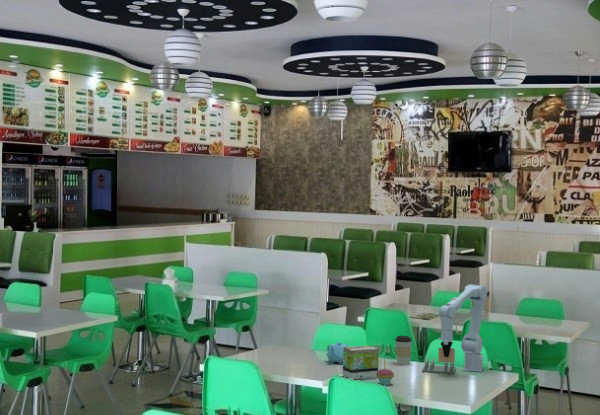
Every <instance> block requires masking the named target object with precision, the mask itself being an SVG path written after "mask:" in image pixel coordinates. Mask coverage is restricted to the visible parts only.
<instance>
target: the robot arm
mask: <svg viewBox="0 0 600 415" xmlns="http://www.w3.org/2000/svg"><path fill="white" fill-rule="evenodd" d="M487 296H488V290H487V287H486V286H485V285H477V284H471V283H469V284H467V285H466V286H464V290H463V292H461V293H460V295H459V296H457V297H452V298H451V300H450V301H448V302H447V303H446V304H444V305H442V306H440V308H439V310H438V315H439V317H440V318H439V319H440V337H438V340H439V341H441V342H440V345H441V348H443V353H444V357H449V353H450V348H452V346H453V343H454V342H453V341H454V338H453V335H454V334H453V331H454V330H453V328H454V327H453V325H454V323H453V322H454V317H455V315H456V313H457V311H459V309H460V308H462V306H463V303H464V302H466V301H467V300H468V299H469V300H470V301H471V302H472V303H473V307H472V312H471V318H470V323H469V328H468V332H467V333H466V334H465V335H464V336H463V338H462V341H461V342H460V345H461V347H460V348H461V349H462V351H463V353H464V366H463V368H462V369H463V371H465V372H466V371H467V372H479V373H480V372H481V373H482V372H483V369H484V364H483V360H484V359H483V358H484V356H483V355H484V353H481V352H482V350H483V339H482V337H481V336H480V330H481V325H482V319H483V314H484V308H485V303H486V301H487Z"/></svg>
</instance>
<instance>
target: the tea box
mask: <svg viewBox="0 0 600 415" xmlns="http://www.w3.org/2000/svg"><path fill="white" fill-rule="evenodd" d="M379 355H380V352H379V348H377V347H374V346H371V345H358V346H348V347H344V349H343V362H342V363H343V364H342V377H343V376H344V378H346V377H348V378H352V379H356V380H365V379H366V380H367V379H378V377H377V376H376V374H377V372H378V371H379V357H380V356H379ZM348 378H347V379H348Z"/></svg>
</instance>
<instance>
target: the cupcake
mask: <svg viewBox="0 0 600 415" xmlns="http://www.w3.org/2000/svg"><path fill="white" fill-rule="evenodd" d="M386 364H387V363H386V359H384V360H383V368H382V369H381V368H380V369H378V372H377V374H376V376H377V377H378V378H377V379H378V382H379V385H381V384H383V385H382V386H390V385H391V382H392V379H393V378H394V377H395V373H394V372H393V370H391V369H387V366H386Z"/></svg>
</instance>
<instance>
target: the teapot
mask: <svg viewBox="0 0 600 415" xmlns="http://www.w3.org/2000/svg"><path fill="white" fill-rule="evenodd" d="M344 347H349V346H348V344H347V343H344V344H343V343H342V342H341V341H338V342H336V343H333V344H332V343H331V344H328V345H327V346H326V350H327V353H326V357H327V360H328V361H329V362H331V363H330V364H334V363H336V362H337V363H338V365H343V349H344Z"/></svg>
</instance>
